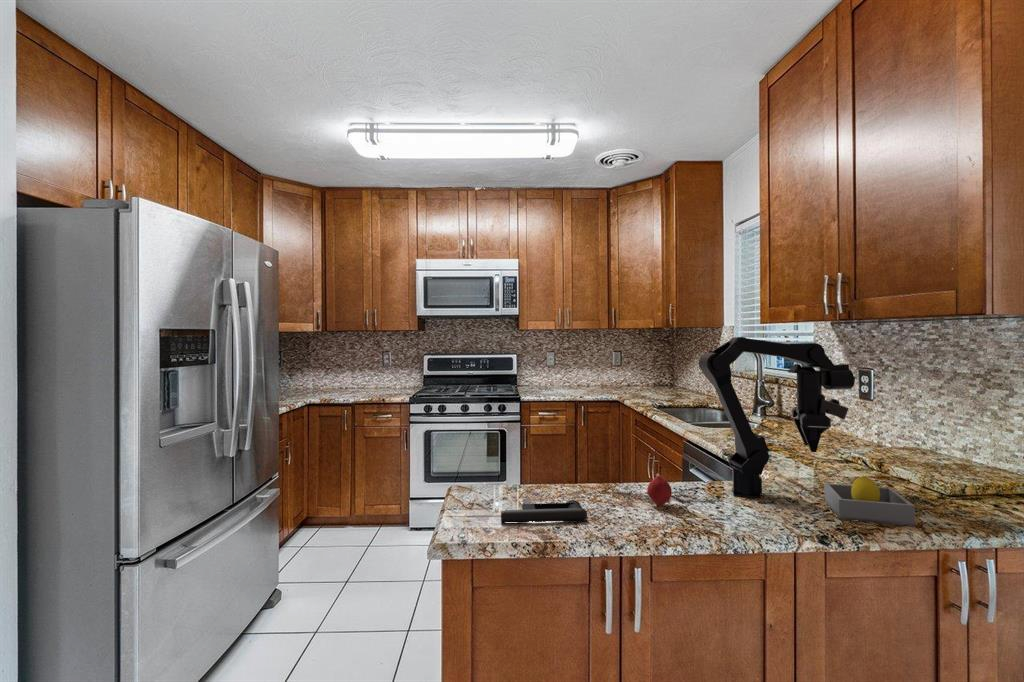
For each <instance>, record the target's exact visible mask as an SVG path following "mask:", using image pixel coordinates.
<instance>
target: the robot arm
mask: <svg viewBox="0 0 1024 682" xmlns="http://www.w3.org/2000/svg"><path fill="white" fill-rule="evenodd" d="M744 353H749V354H757V355H765V356H770V357H777V358H778V357H779V358H782V359H785V360H787V361H790V362H793V363H794V365H792V367H790V368H788V369H787V372H788V373H790V374H796V392H795V397H796V406H793V408H791V417H792V421H793V423H794V425H795V427H796V429H797V431H798V433H799V435H800V437H801V439H802V442H803V444H804V446H808V448H809V451H810V452H811V453H817V451H818V447H819V443H820V440H821V436H822V434H823V433H824V432H825V431H827V430H829V429H830V428H831V427H832V423H831V422H832V421H831V418H830V417H828V416H827V414H829V415H831V416H835V417H837V418H839V419H841V420H845V418H846V416H847V414H848V411H849V409H850V408H849V407H847V406H845V405H843V404H840V400H838V399H835V398H830V399H829V400H826V396H825V394H823V389H824V390H826V391H827V390H828V391H830V390H831V391H833V390H835V391H836V390H837V391H838V390H845V391H847V390H851V389H853V388H854V387H855V382H856V377H855V375H854V373H853V371H852V370H851V368H850V364H848V363H847V364H846V363H839V364H834V363H833V362H832V360H831V359H830V358H829V357H828V355H827V354H826V350H825V348H824V347H823V345H822V344H820V343H817V342H807V343H806V342H801V343H800V342H798V343H783V342H777V341H769V340H762V339H754V338H748V337H745V336H734V337H731V339H729V340H728V341H727V342H725V343H723V344H722V345H720V346H719V347H717V348H715V349H714V350H712V351H710V352H706V353H703V354H702V355H701V356H700V358H699V361H698V366H699V369H700V371H701V372H702V375H704V376H705V378H706V379H707V380H708V381H709V382H710V384H711V385H712V386H713V388H714V390H715V392H716V394H717V398H718V399H719V402H720V404H721V406H722V408H723V410H724V413H725V415H726V418H727V420H728V422H729V425H730V427H731V429H732V431H733V433H734V447H735V452H734V453H733V454H732V455H731V456H730V457H729V458H728V459H727V461H728V464H729V466H730V467H731V468H732V488H731V489H732V495H733V496H735V497H745V498H746V497H747V498H757V499H760V498H761V497H762V494H763V481H762V480H763V479H762V476H761V475H762V474H763V471H764V469H765V466H766V465H767V464H768V462H769V460H770V453H769V452H771V449H769V447H768V445H767V442H766V439H765V436H763V435H760V434H758V433H755V432H754V431H753V430H752V427H751V424H750V423H749V420H748V418H747V415H746V413H745V411H744V409H743V407H742V404H741V402H740V398H739V397H738V395H737V392H736V390H735V387H734V385H733V382H732V370H731V364H732V363H734V362H735V361H736V360H737V359H739V357H740V356H741V355H742V354H744ZM802 365H806V366H802ZM815 368H816V369H819V370H816V369H815ZM822 387H823V388H822Z"/></svg>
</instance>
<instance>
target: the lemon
mask: <svg viewBox="0 0 1024 682" xmlns="http://www.w3.org/2000/svg"><path fill="white" fill-rule="evenodd" d="M851 485H852V488H851V494H852V498H853V500H862V501H874V502H879V500H880V491H879V488H878V487H879V486H878V484H877V483H876V481H874V480H873V479H871V478H869V477H868V476H867V475H862V476H861V477H858V478H856V479H855V480H853V482H852V484H851Z"/></svg>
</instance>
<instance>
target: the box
mask: <svg viewBox="0 0 1024 682" xmlns="http://www.w3.org/2000/svg"><path fill="white" fill-rule="evenodd" d="M823 484H824V485H823V487H824V488H823V489H824V495H823V496H824V502H825V504H828V505H829V506H828V505H827V506H828V507H829V508H830V509H832V510H833V511H832V510H831V511H832V512H833V514H834V515H835V514H836V515H837V516H836V515H835V516H836V517H837V518H838V519H845V520H844V521H850V520H858V521H857V522H861V521H867V522H866V523H871V522H876V523H875V524H882V523H885V524H884V525H893V524H895V525H896V526H904V525H909V526H908V527H916V515H915V513H916V512H915V510H916V509H915V508H916V507H915V505H914V504H913V503H911V501H909V500H908V499H906V498H905V497H904V496H902V495H901V494H900V493H898V492H897V491H896V490H895V489H894V488H892V487H883V486H878V488H879V491H880V500H879V502H874V501H862V500H853V498H852V494H851V488H852V484H844V483H843V484H841V483H829V482H828V483H826V482H824V483H823Z"/></svg>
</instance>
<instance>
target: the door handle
mask: <svg viewBox="0 0 1024 682" xmlns="http://www.w3.org/2000/svg"><path fill="white" fill-rule="evenodd" d="M522 503H523V504H522V509H506V510H505V509H504V510H501V511H500V521H501V522H503V523H504V522H529V521H532V522H533V521H535V522H542V521H543V522H545V521H581V522H585V521H586V519H587V517H588V512H587V511H586V509H584V508H583V506H582V505H581V504H580V502H579V501H577V500H576V499H575V500H574V499H572V500H571V499H569V500H567V501H566V502H555V503H554V502H552V503H549V502H547V503H531V498H523V499H522Z"/></svg>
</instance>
